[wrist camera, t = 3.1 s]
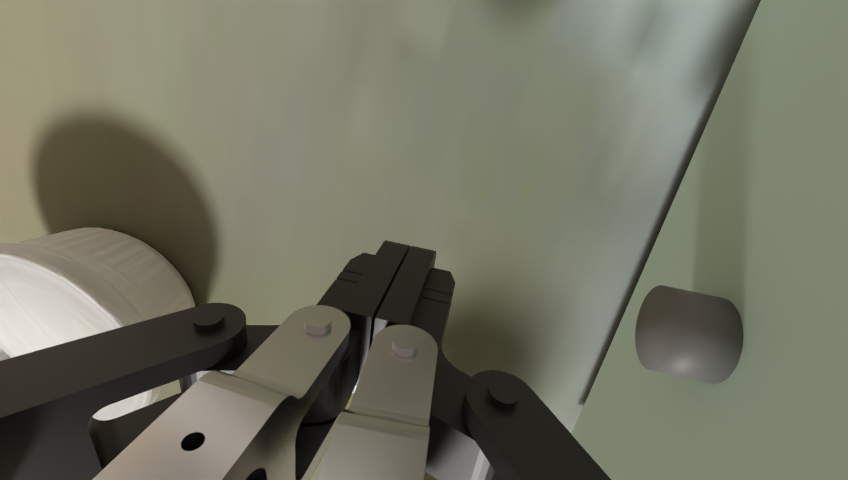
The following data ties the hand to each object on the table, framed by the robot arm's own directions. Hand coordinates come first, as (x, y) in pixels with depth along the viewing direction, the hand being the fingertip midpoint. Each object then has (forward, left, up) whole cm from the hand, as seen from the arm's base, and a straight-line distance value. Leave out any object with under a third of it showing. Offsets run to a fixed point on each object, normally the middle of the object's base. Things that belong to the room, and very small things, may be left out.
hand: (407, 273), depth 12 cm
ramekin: (+10, +18, -8) cm, 22 cm away
